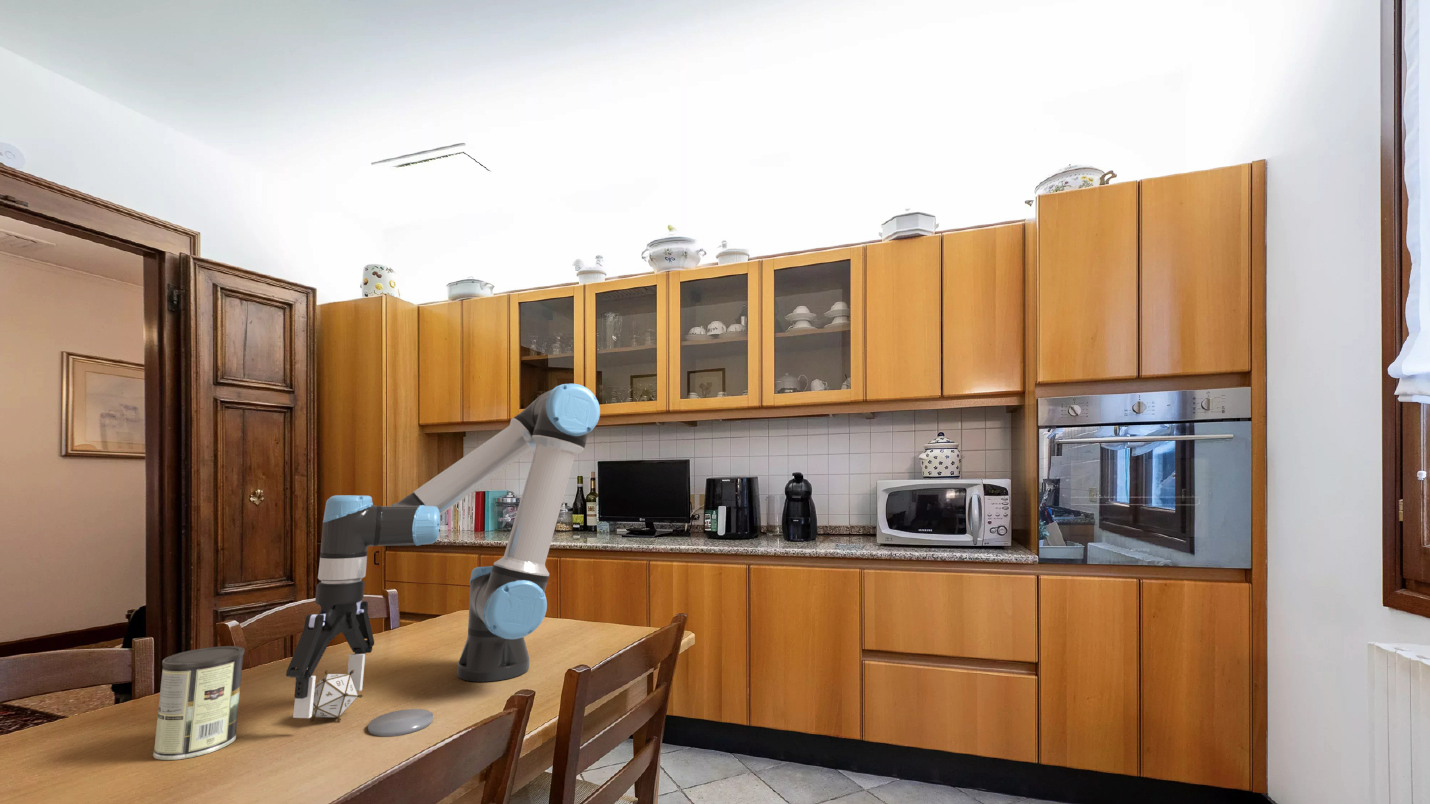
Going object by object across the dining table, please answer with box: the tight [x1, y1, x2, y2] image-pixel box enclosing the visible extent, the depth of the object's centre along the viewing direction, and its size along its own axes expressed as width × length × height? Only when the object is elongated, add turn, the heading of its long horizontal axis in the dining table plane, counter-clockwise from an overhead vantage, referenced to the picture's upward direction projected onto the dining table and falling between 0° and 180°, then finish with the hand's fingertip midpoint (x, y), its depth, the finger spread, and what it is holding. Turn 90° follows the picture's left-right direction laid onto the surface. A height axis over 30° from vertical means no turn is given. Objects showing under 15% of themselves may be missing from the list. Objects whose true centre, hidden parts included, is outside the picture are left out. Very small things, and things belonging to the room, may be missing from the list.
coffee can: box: [152, 645, 246, 761], centre depth 98 cm, size 10×10×14 cm
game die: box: [310, 669, 364, 723], centre depth 109 cm, size 9×8×10 cm
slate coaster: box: [367, 708, 434, 737], centre depth 106 cm, size 10×10×1 cm
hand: (329, 703), depth 108 cm, fingers open, 13 cm apart
